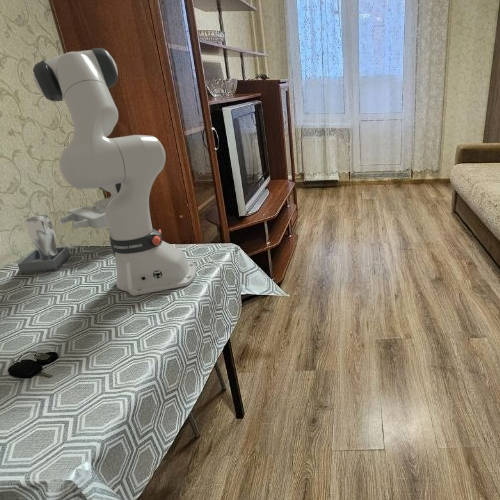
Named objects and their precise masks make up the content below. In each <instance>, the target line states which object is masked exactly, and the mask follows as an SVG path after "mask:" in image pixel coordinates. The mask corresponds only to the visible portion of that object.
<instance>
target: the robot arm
mask: <svg viewBox="0 0 500 500" xmlns="http://www.w3.org/2000/svg"><path fill="white" fill-rule="evenodd" d="M32 72H33V80H34V84H35V86H36V88H37V89H38V91H39V92H40V93H41V94H42V96H44V97H45V99H46V100H48V101H51V102H63V100H64V102H65V103H66V106H67V108H68V111H69V114H70V117H71V120H72V123H73V136H72V139H71V141H70V143H69V144H68V145H67V146H66V147H65V149H64V150H63V151H62V152H61V155H60V157H59V158H60V159H59V169H60V173H61V175H62V177H63V179H64V180H65V181H66V182H67V183H68V184H69V186H72V187H73V188H75V189H83V190H85V189H87V190H88V189H100V190H101V191H104V192H107V193H110V197H106V198H103V199H100V200H96V201H95V202H94V204H93V205H92V206H90V205H83V206H79V207H75V208H70V209H68V210H67V215H65V216H64V217H61V218H60V219H59V221H60V223H61V224H67V223H68V222H72V224H71V225H72V228H74V229H79V228H80V229H81V228H86V227H87V228H88V227H90V228H93V229H94V230H95V229H103V228H108V231H109V234H110V235H109V243H110V248H111V252H112V254H113V256H114V258H115V259H114V260H115V267H116V282H115V285H116V287H117V289H119V290H121V291H124V292H128V294H129V295H130V296H140V295H145V294H150V293H151V294H152V293H154V292H155V293H156V292H160V291H166V290H171V289H176V288H182V287H186V286H189V285H190V284H192V282H194V279H195V278H196V275H197V268H196V264H195V263H194V262H192V261H188V260H187V258H186V256H185V253H184V252H183V250H182V249H180V248H179V247H177V246H174V245H172V244H170V243H168V242H166V241H164V240H163V237H162V230H161V229H158V230H157V229H155V228H153V225H152V219H151V212H150V194H151V191H152V187H153V185H154V182H155V181H156V178H157V177H158V176H159V174H160V173H161V172H162V171H163V170H164V167H165V164H166V158H167V157H166V150H165V148H164V146H163V144H162V143H161V141H160V140H159V139H158V138H157V137H155V136H154V135H147V134H145V135H144V134H132V135H125V136H119V137H113V138H111V137H110V138H109V136H110V135H111V134H112V132H113V130H114V128H115V127H116V125H117V124H118V120H119V111H118V107H117V106H116V103H115V101H114V98H113V96H112V94H111V92H110V88H113V87H114V86H115V85H116V84H117V82H118V80H119V77H118V75H119V73H118V72H119V71H118V65H117V64H116V61H115V60H114V58H113V57H112V55H111V54H110V53H109V52H108V50H106V49H105V48H102V47H96V48H95V47H94V48H93V47H92V48H91V49H88V50H79V51H69V52H68V51H67V52H65V53H62V54H60V55H57V56H55V57H51V58H49V59H47V60H45V59H42V60H41V61H39V62H37V63H35V64H34V66H33V69H32Z"/></svg>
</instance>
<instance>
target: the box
mask: <svg viewBox="0 0 500 500" xmlns="http://www.w3.org/2000/svg"><path fill="white" fill-rule="evenodd" d="M57 250H58V253H59V254H58V255H57V256H56V257H55V258H54V259H53V260H46V261H41V259H40V254H39V252H38V250H37V249H33V251H31V252H30V253H29V254H27V255H26V256H25V257H24V258H23V259H22V260H20V261H19V262H18V263H17V267H18V269H19V272H20V275H27V274H37V273H44V272H45V273H47V272H56V271H58V270H59V269H60V268H61V267H62V266H63V265H64V264H65V262H66V261H68V259H69V258H70V257H71V253H70V250H69V247H68V246H59V247H57Z"/></svg>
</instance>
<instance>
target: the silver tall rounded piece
mask: <svg viewBox="0 0 500 500" xmlns="http://www.w3.org/2000/svg"><path fill="white" fill-rule="evenodd" d="M24 222H25V224H26V228H27V231H28V234H29V238H30V239H31V241H32V244H33V245H34V247H35V248H36V250H38V252H39V254H40V259H41V261H46V260H53V259H54V258H55V257H56V256H57V255H58V254H59V253H58V250H57V248H58V247H57V241H56V240H57V239H56V234H55V229H54V225H53V223H52V221H51V217H50V216H49V215H48V214H39V215H33V216H29V217H28V218H26V219H25V221H24Z"/></svg>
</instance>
